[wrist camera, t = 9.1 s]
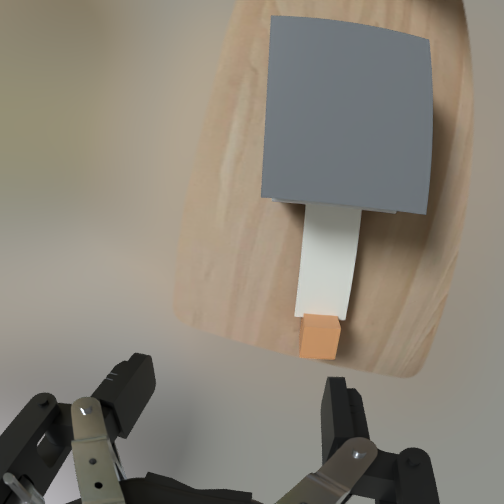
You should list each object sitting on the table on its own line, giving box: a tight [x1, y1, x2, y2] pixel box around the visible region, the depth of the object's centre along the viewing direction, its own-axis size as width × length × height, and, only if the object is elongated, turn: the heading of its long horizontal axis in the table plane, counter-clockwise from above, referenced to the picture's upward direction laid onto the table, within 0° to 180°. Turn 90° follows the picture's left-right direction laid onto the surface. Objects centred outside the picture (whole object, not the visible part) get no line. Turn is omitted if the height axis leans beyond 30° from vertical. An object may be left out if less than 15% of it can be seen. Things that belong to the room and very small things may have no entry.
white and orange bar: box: [295, 204, 362, 360], centre depth 33 cm, size 20×6×5 cm, turn 177°
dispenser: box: [261, 16, 433, 215], centre depth 27 cm, size 17×14×10 cm
